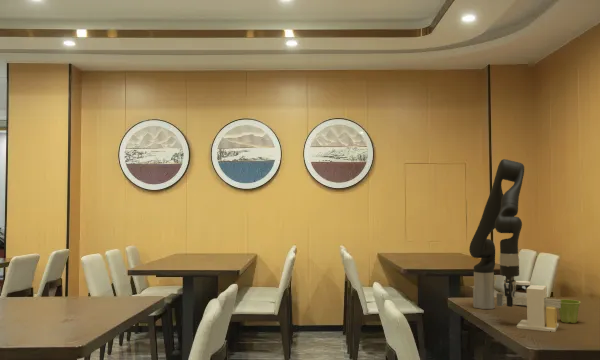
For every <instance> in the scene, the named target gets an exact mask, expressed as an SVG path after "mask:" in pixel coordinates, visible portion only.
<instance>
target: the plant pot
mask: <svg viewBox="0 0 600 360" xmlns="http://www.w3.org/2000/svg"><path fill="white" fill-rule="evenodd" d="M580 305H581V301H580V300H575V299H561V308H558V311H559V316H560V317H559V318H560V321H561V322H562V323H566V324H567V323H568V324H569V323H571V324H576V323H578V317H579V316H578V315H579V307H580Z"/></svg>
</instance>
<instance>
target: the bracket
mask: <svg viewBox="0 0 600 360" xmlns="http://www.w3.org/2000/svg"><path fill="white" fill-rule="evenodd" d="M547 296H548V293H547V285H537V284H530V286H529V287H528V288H527V306H526V315H527V316H526V319H521V320H520V322H518V323H517V325H516V329H521V330H532V331H541V332H550V331H551V332H550V333H555V332H556V331H557V330H558V328H559V322H557V325H556V327H555V328H550V327H547V320H546V308H547V307H545V303H544V298H547V299H548V297H547Z"/></svg>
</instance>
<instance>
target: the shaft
mask: <svg viewBox="0 0 600 360" xmlns="http://www.w3.org/2000/svg"><path fill="white" fill-rule="evenodd" d="M512 299H513V304H514V306H515V305H516V306H518V305H527V297H520V296H515V295H514V296H513V297H512ZM561 300H562V299H558V298H548V297H547V298H544V303H545V307H551V308H556V309H559V308H561ZM505 304H506V305H507V297H506V296H505V292H501V291H498V292H497V293H496V306H497V307H503V306H504V305H505Z"/></svg>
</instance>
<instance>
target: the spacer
mask: <svg viewBox="0 0 600 360" xmlns="http://www.w3.org/2000/svg"><path fill="white" fill-rule="evenodd" d="M557 309H558V308H551V307H547V308H546V320H547V327H550V328H555V327H556V325H557V323H558V316H557V315H558V311H557Z"/></svg>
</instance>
